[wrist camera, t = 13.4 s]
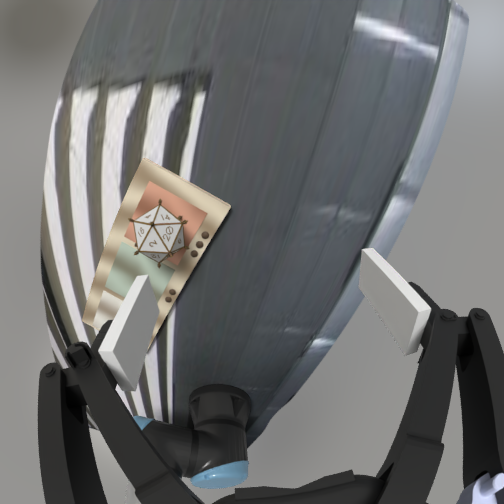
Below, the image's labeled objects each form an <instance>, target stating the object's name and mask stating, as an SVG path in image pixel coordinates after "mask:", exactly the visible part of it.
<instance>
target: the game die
mask: <svg viewBox="0 0 504 504" xmlns="http://www.w3.org/2000/svg"><path fill="white" fill-rule="evenodd" d="M158 203H159V205H157V206H156V207H154V208H153V209H151V210H149V211H148V212H146V213H145V214H143V215H142V216H140V217H138V218H137V219H135V220H133V219H131V218H128V220H129V222H133V226H134V232H135V238H136V243H135V247H137V249H138V250H137V251H136V252H134V255H137V254H139V252H140V253H142V254H143V255H145V256H147V257H149V258H151V259H152V260H154V261H156V262H158V264H157V265H158V268H160V267H161V264H160V263H161V262H162V261H164V260H165V259H167V258H168V257H173V254H175V253H176V252H178V251H179V250H181V249H183V248H185V249H187V250H188V249H189V246H185V241H184V227H183V224H187V222H188V220H184V221H183V222H182V221H181V220H180V219H181V218H182V216H179V217H178V218H177V217H176V216H175V215H174V214H172V213H171V212H170V211H168V210H167V209H166V208H165V207H163V206H162V205H161V203H162V200H161V199H159V202H158Z"/></svg>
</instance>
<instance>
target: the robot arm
mask: <svg viewBox="0 0 504 504" xmlns="http://www.w3.org/2000/svg"><path fill="white" fill-rule="evenodd" d="M359 289H360V290H361V291H362V293H363V294H364V296H365V297H366V298H367V300H368V301H369V303H370V304H371V305H372V307H373V308H374V310H375V311H376V313H377V314H378V316H379V317H380V319H381V320H382V322H383V323H384V325H385V326H386V328H387V329H388V331H389V332H390V334H391V335H392V337H393V338H394V340H395V341H396V343H397V344H398V346H399V348H400V349H401V351H402V352H403V354H404V355H409V354H411V353H415V352H417V350H418V347H419V344H421V345H422V346H423V351H422V353H421V356H420V358H419V361H418V363H419V366H418V370H417V374H416V377H415V381H414V384H413V388H412V391H411V394H410V397H409V401H408V404H407V407H406V410H405V413H404V415H403V418H402V421H401V424H400V427H399V429H398V431H397V434H396V437H395V439H394V441H393V444H392V446H391V449H390V451H389V453H388V455H387V458H386V460H385V462H384V464H383V465H382V467H381V469H380V470H379V472H378V474H377V475H376V477H372V476H367V475H354V474H353V471H352V470H349V471H345V472H341V473H338V474H333V475H329V476H325V477H323V478H321V479H318V480H316V481H314V482H311V483H309V484H306V485H304V486H302V487H300V488H295V489H290V488H277V487H266V486H262V487H250V488H235V494H232V495H228V496H226V497H223V498H221V499H219V500H217V501H216V502H214V503H213V504H428V503H426V500H427V497H428V495H429V492H430V490H431V487H432V484H433V481H434V479H435V476H436V473H437V470H438V467H439V464H440V461H441V457H442V454H443V450H444V444H443V443H441V440H442V435H443V431H444V427H445V423H446V419H447V414H448V409H449V404H450V399H451V393H452V387H453V381H454V373H455V365H456V368H457V375H458V382H459V390H460V398H461V408H462V424H463V484H464V490H463V491H462V493H461V495H460V498H459V500H458V502H457V504H504V353H503V350H502V347H501V344H500V341H499V339H498V336H497V333H496V331H495V328H494V325H493V323H492V320H491V318H490V316H489V314H488V313H487V312H486V311H485V310H483V309H480V308H473V309H471V311H470V312H469V315H468V317H458V316H457V315H456V313H454V312H453V311H451V310H448V309H440V307H439V306H438V305H437V304H436V303H435V302H434V301H433V300H432V299H431V298H430V297H429V296H428V295H427V294H426V293H425V292H424V291H423V290H422V289H421V288H420V286H418V285H416V284H414V283H413V282H409V283H407V282H406V281H405V280H404V279H403V278H402V277H401V276H400V275H399V274H398V273H397V271H396V270H394V269H393V267H392V266H391V265H390V264H389V263H388V262H386V260H385V259H384V258H382V257H381V256H380V255H379V254H378V253H377V252H376V251H375V250H374V249H373V248H368V249H362V256H361V267H360V278H359ZM159 312H160V311H159V308H158V304H157V301H156V298H155V295H154V292H153V289H152V286H151V282H150V279H149V276H148V275H141V276H137V277H136V279H135V281H134V282H133V284H132V286H131V288H130V290H129V291H128V293H127V295H126V297H125V299H124V301H123V303H122V304H121V306H120V308H119V310H118V312H117V314H116V316H115V318H114V320H108V321H107V322H106V323H104V324H103V325H102V327H101V329H100V331H99V334H97V336H96V339H95V340H94V342H93V344H92V346H91V348H90V347H89V345H88V344H87V343H85V342H77V343H74V344H72V345H71V346H69V348H68V349H67V350H66V352H65V358H66V359H67V361H68V362H69V364H70V365H71V367H70V368H66V369H62V368H61V367H60V365H59V364H58V363H49V364H47V365H46V366H44V367H43V369H42V370H41V372H40V378H39V393H38V394H39V395H38V442H39V443H38V444H39V458H40V468H41V477H42V483H43V489H44V496H45V501H46V504H108V503H107V500H106V497H105V494H104V491H103V487H102V484H101V481H100V477H99V473H98V469H97V465H96V461H95V457H94V452H93V447H92V443H91V438H90V432H89V426H88V420H87V413H86V406H85V405H88V407H89V409H90V411H91V413H92V416H93V418H94V420H95V422H96V424H97V426H98V428H99V430H100V432H101V434H102V435H103V437H104V439H105V441H106V443H107V445H108V446H109V448H110V450H111V452H112V454H113V455H114V457H115V459H116V460H117V462H118V464H119V465H120V467H121V468H122V470H123V472H124V473H125V475H126V476H127V478H128V485H127V492H126V499H125V504H204V503H203V502H202V501H201V500H200V499H199V498H198V497H197V496H196V495H195V494H194V493H193V492H192V491H191V490H190V489H189V488H188V487H187V486H186V485H185V484H184V482H183V481H182V480H181V478H182V477H187V478H191V480H190V481H191V482H192V484H193V485H194V486H196V487H200V488H208V489H214V488H226V487H231V486H235V485H238V484H240V483H242V482H244V481H245V480H246V479H247V477H248V464H249V463H248V457H247V445H246V434H245V426H246V423H247V420H248V417H249V414H250V411H251V401H250V397H249V396H248V395H247V394H246V393H245V392H244V391H242V390H241V389H239V388H236V387H233V386H228V385H207V386H203V387H200V388H198V389H196V390H195V391H193V392H192V393H191V395H190V397H189V410H190V413H191V416H192V420H193V423H194V429H190V428H185V427H181V426H177V425H173V424H169V423H165V422H161V421H158V420H155V419H153V418H152V419H150V418H146V417H142V416H135V417H132V415H131V414H130V412H129V410H128V409H127V407H126V406H125V404H124V403H123V401H122V399H121V398H120V396H119V394H118V393H117V391H116V390H115V389H116V386H117V384H118V385H119V387H120V388H121V390H122V391H136V388H137V384H138V381H139V377H140V374H141V370H142V367H143V363H144V360H145V356H146V353H147V350H148V347H149V343H150V340H151V337H152V334H153V331H154V328H155V324H156V321H157V318H158V315H159Z"/></svg>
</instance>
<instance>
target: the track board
mask: <svg viewBox="0 0 504 504" xmlns="http://www.w3.org/2000/svg"><path fill="white" fill-rule="evenodd" d="M159 199H161V200H162V203H161V205H162V206H163V207H165V208H166V209H167V210H168V211H170V212H171V213H172V214H174V215H175V216H176V217H177V218H178V217H179V216H182V218H181V219H180V220H181V221H182V222H183V221H184V220H188V222H187V224H183V227H184V241H185V246H189V249H188V250H187V249H185V248H183V249H181V250H179V251H178V252H176V253H175V254H173V257H168V258H167V259H165V260H164V261H162V262H161V263H160V264H161V267H160V268H158V265H157V264H158V262H156V261H154V260H152V259H151V258H149V257H147V256H145V255H143V254H142V253H140V252H139V254H137V255H134V252H136V251H137V250H138V249H137V247H135V243H136V238H135V232H134V226H133V222H129V220H128V218H131V219H133V220H135V219H137V218H138V217H140V216H142V215H143V214H145V213H146V212H148V211H149V210H151V209H153V208H154V207H156V206H157V205H159V203H158V202H159ZM230 208H231V205H229V204H228V203H226V202H224V201H222V200H221V199H219V198H217V197H215V196H214V195H212V194H210V193H208V192H206V191H205V190H203V189H201V188H199V187H198V186H196V185H194V184H192V183H190V182H189V181H187V180H185V179H183V178H181V177H180V176H178V175H176V174H174V173H172V172H171V171H169V170H167V169H165V168H163V167H161V166H160V165H158V164H156V163H154V162H152V161H150V160H149V159H147V158H143V159H142V161H141V163H140V165H139V168H138V170H137V172H136V174H135V176H134V178H133V180H132V182H131V184H130V186H129V189H128V191H127V193H126V195H125V197H124V200H123V202H122V204H121V207H120V209H119V211H118V214H117V216H116V219H115V221H114V224H113V226H112V229H111V231H110V234H109V237H108V239H107V242H106V245H105V247H104V250H103V253H102V256H101V259H100V262H99V264H98V267H97V270H96V274H95V277H94V280H93V283H92V286H91V290H90V293H89V297H88V300H87V304H86V307H85V311H84V315H83V319H82V321H83V322H85V323H86V324H88V325H90V326H92V327H94V328H95V329H97V330H99V331H100V329H101V327H102V325H103V324H104V323H106V322H107V321H108V320H114V318H115V316H116V314H117V312H118V310H119V308H120V306H121V304H122V303H123V301H124V299H125V297H126V295H127V293H128V291H129V290H130V288H131V286H132V284H133V282H134V281H135V279H136V277H137V276H141V275H148V276H149V279H150V282H151V286H152V289H153V292H154V295H155V298H156V301H157V304H158V308H159V311H160V312H159V315H158V318H157V321H156V324H155V328H154V331H153V334H152V337H151V340H150V343H149V347H150V345H151V343H152V341H153V339H154V337H155V336H156V334H157V332H158V330H159V328H160V327H161V325H162V323H163V321H164V319H165V318H166V316H167V314H168V312H169V310H170V309H171V307H172V305H173V303H174V302H175V300H176V298H177V296H178V295H179V293H180V291H181V289H182V288H183V286H184V284H185V282H186V281H187V279H188V277H189V276H190V274H191V272H192V270H193V269H194V267H195V265H196V264H197V262H198V260H199V259H200V257H201V255H202V254H203V252H204V250H205V249H206V247H207V245H208V244H209V242H210V240H211V239H212V237H213V235H214V234H215V232H216V231H217V229H218V227H219V226H220V224H221V222H222V221H223V219H224V218H225V216H226V214H227V213H228V211H229V210H230ZM149 347H148V349H149Z"/></svg>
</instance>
